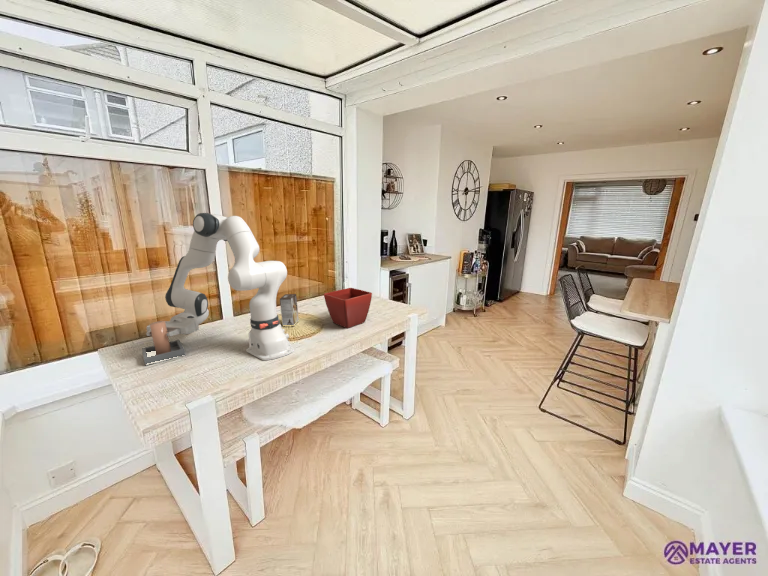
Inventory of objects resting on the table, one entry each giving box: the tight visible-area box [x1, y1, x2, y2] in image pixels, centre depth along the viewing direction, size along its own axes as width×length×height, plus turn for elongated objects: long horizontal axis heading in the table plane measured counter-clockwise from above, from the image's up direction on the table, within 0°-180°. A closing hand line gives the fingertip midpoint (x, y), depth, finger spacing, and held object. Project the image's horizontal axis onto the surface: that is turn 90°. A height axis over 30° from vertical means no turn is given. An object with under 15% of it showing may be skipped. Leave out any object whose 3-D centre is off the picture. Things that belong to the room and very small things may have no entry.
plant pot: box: [323, 287, 373, 329], centre depth 172 cm, size 19×19×17 cm
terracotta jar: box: [149, 320, 171, 355], centre depth 138 cm, size 6×6×14 cm
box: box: [141, 339, 186, 365], centre depth 139 cm, size 14×14×3 cm
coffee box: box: [279, 293, 300, 326], centre depth 172 cm, size 9×6×16 cm
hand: (158, 334), depth 137 cm, fingers open, 8 cm apart
